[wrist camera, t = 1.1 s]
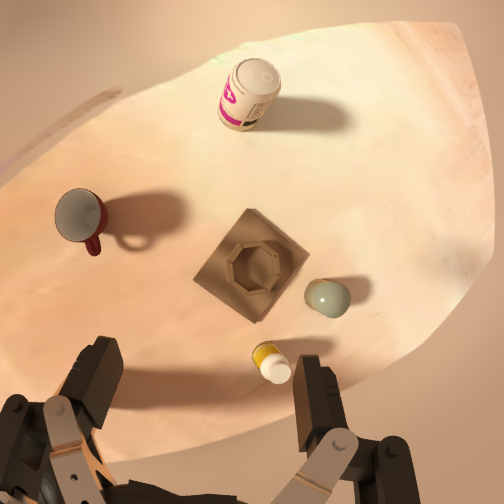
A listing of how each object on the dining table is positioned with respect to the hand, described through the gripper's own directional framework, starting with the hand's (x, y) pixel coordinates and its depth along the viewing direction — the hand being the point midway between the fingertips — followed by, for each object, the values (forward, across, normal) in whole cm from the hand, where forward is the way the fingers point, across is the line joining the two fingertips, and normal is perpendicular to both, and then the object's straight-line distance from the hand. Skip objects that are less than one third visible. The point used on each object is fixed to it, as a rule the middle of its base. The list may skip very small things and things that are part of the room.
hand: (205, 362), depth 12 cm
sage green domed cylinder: (+39, +17, -24) cm, 49 cm away
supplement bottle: (+32, +6, -34) cm, 47 cm away
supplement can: (+50, -2, +9) cm, 51 cm away
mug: (+35, -25, -10) cm, 45 cm away
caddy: (+38, +2, -18) cm, 42 cm away
